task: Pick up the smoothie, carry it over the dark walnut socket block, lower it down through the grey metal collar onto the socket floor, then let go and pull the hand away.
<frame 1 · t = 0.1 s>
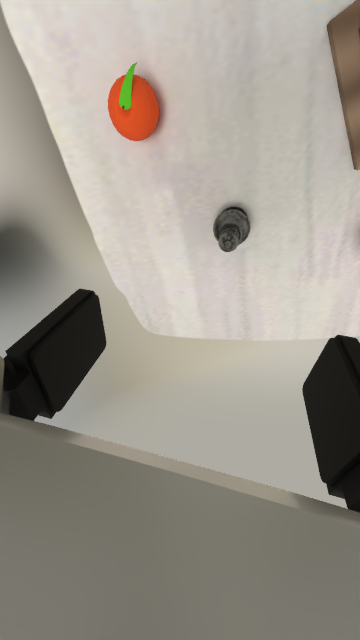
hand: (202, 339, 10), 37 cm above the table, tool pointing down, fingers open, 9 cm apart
chess piece: (232, 222, 42), on the table
clementine: (143, 107, 36), on the table
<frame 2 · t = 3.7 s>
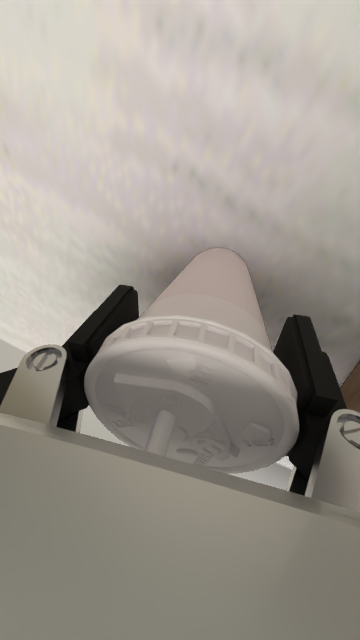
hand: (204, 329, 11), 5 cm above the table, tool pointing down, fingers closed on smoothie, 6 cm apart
smoothie: (217, 276, 15), on the table, touching gripper
when the fingers open (7 cm above the table, at t = 9.9 s): smoothie stays where it is, resting on socket block.
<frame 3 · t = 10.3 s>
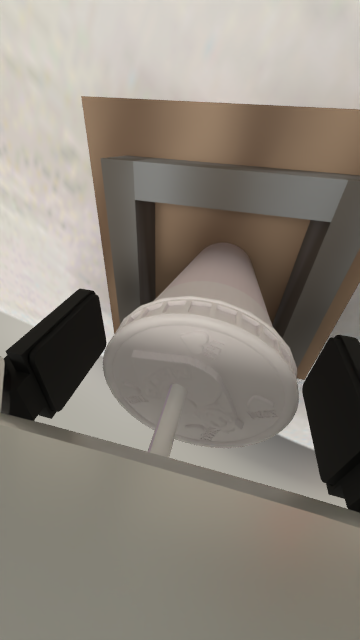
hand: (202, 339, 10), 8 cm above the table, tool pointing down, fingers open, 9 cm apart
smoothie: (222, 270, 16), point 1 cm above the table, touching socket block
socket block: (221, 262, 17), on the table
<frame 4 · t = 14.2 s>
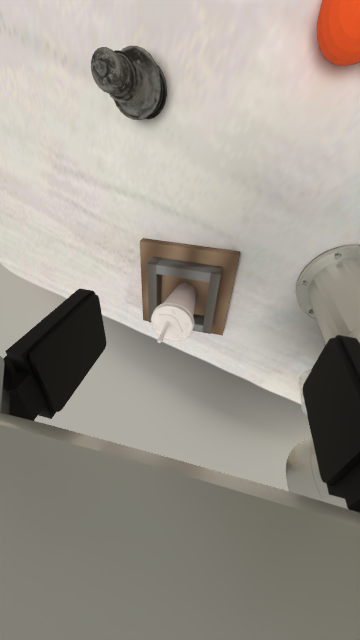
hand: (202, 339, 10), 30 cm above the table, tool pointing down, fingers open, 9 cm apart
chess piece: (146, 91, 29), on the table
clementine: (352, 29, 23), on the table
shot glass: (314, 378, 49), on the table
smoothie: (186, 291, 43), point 1 cm above the table, touching socket block
socket block: (186, 288, 44), on the table
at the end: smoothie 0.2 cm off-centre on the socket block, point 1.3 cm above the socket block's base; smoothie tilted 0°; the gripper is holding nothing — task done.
